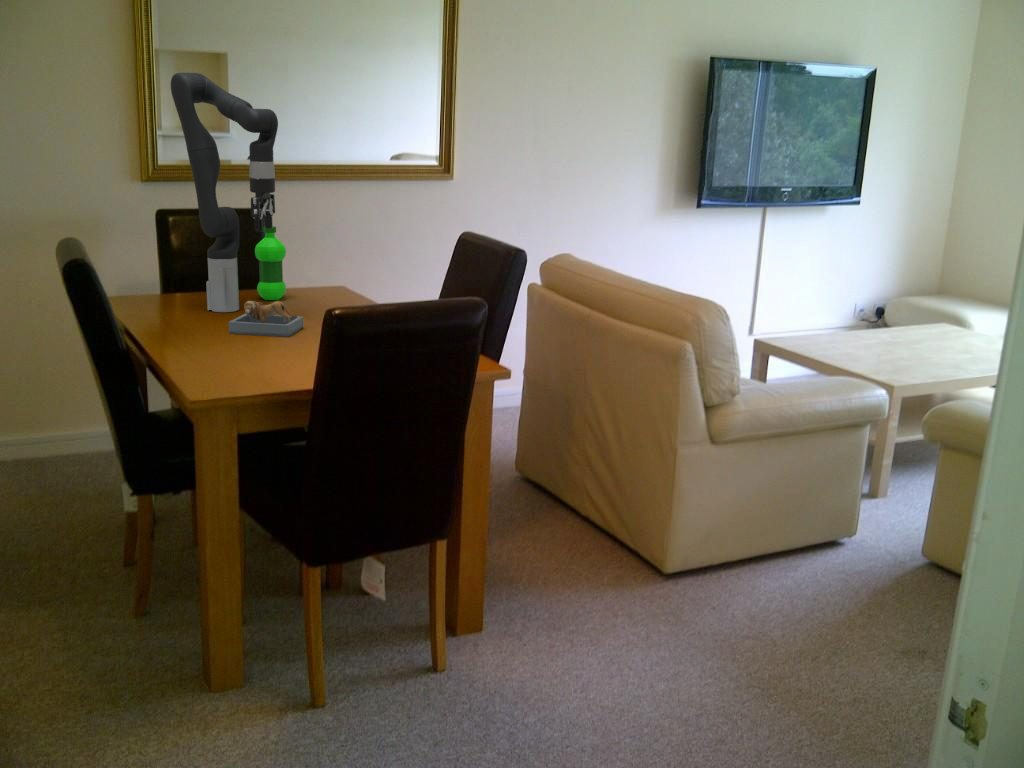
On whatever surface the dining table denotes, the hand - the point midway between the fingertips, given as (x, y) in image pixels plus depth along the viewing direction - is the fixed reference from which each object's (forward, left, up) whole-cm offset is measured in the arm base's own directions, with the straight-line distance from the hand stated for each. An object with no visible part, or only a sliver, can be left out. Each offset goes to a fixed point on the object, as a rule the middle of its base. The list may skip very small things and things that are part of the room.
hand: (263, 229), depth 320 cm
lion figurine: (+8, -16, -26) cm, 32 cm away
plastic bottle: (-10, +32, -28) cm, 44 cm away
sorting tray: (+6, -16, -28) cm, 33 cm away
